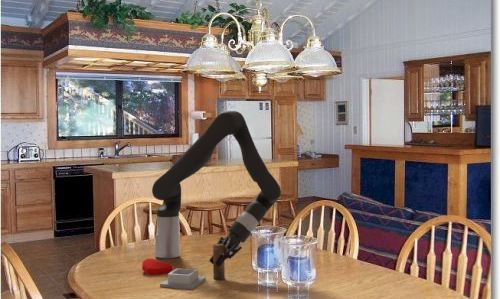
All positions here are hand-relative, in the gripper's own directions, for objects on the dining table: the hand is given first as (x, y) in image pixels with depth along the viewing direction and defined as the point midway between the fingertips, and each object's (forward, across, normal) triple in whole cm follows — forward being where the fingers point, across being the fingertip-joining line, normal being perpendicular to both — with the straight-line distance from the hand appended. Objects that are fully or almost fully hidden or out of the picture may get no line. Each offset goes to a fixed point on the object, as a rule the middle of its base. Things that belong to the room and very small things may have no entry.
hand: (214, 263), depth 195 cm
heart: (+15, -20, -7) cm, 26 cm away
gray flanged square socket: (+12, -1, -4) cm, 13 cm away
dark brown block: (+3, 0, +5) cm, 6 cm away
